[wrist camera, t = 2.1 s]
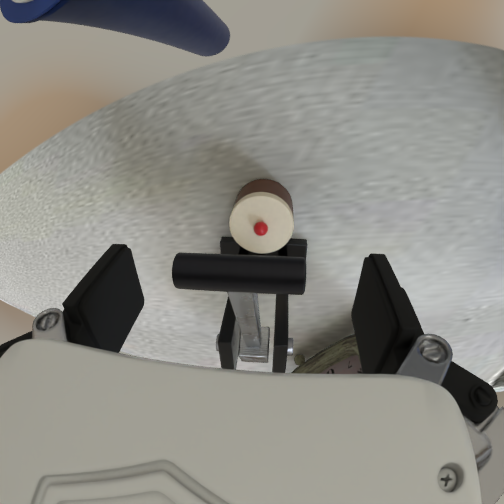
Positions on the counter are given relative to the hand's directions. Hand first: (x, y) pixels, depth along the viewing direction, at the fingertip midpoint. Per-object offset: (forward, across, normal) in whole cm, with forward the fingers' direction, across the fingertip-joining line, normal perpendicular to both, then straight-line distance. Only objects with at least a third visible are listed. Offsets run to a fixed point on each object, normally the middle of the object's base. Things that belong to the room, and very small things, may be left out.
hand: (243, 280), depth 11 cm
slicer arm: (+4, 0, +5) cm, 7 cm away
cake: (+18, 0, +4) cm, 19 cm away
